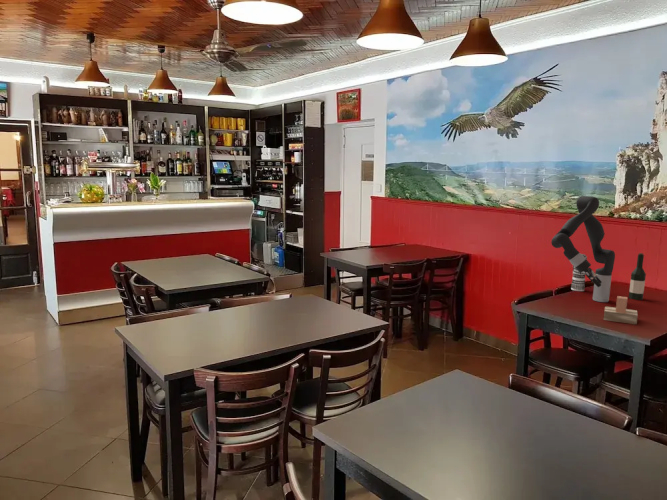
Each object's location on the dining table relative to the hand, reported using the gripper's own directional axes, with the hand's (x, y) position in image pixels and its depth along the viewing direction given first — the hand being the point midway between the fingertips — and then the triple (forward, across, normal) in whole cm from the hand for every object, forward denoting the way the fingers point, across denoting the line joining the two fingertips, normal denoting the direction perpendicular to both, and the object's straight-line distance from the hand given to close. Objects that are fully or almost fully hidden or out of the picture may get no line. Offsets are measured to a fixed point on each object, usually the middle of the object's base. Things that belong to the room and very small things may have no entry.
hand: (600, 284), depth 290 cm
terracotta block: (+18, 0, +2) cm, 18 cm away
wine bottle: (+28, +63, -1) cm, 69 cm away
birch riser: (+21, +1, +5) cm, 22 cm away
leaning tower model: (+3, +68, +24) cm, 72 cm away
